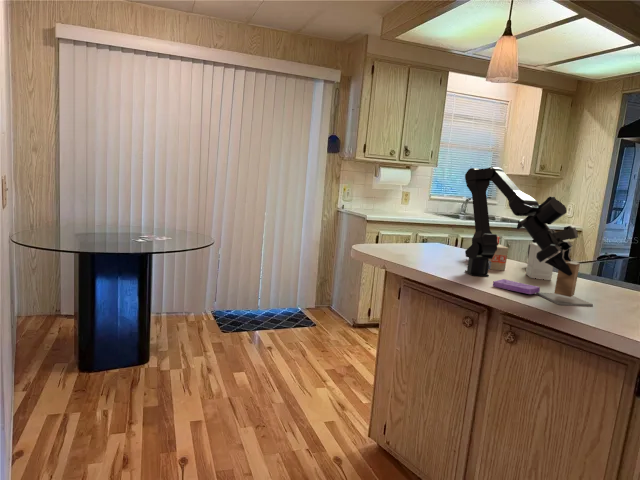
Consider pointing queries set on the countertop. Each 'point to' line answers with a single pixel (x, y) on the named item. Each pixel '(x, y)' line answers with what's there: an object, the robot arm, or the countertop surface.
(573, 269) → the walnut block
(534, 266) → the supplement box
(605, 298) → the countertop surface
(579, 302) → the coaster
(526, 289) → the sponges
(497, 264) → the tan cardboard box
